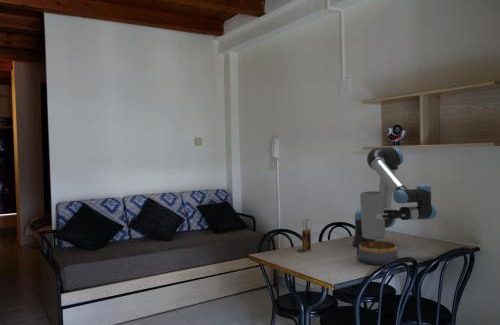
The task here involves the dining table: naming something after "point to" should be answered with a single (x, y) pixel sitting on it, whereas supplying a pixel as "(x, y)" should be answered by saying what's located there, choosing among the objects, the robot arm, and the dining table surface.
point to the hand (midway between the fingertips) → (371, 214)
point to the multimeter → (306, 239)
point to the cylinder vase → (372, 215)
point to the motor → (377, 252)
